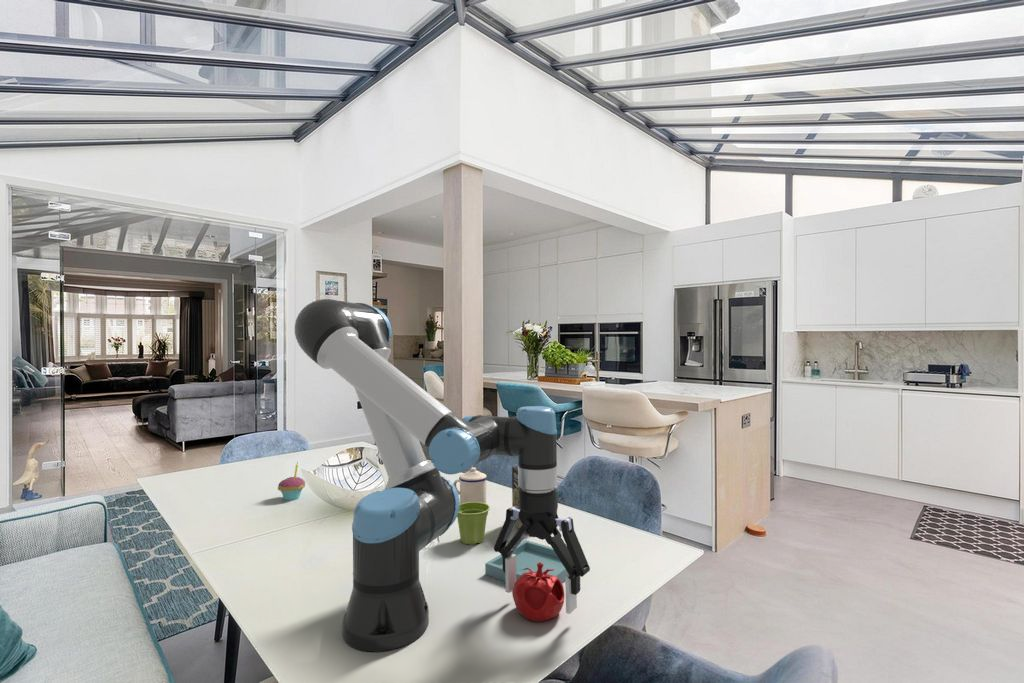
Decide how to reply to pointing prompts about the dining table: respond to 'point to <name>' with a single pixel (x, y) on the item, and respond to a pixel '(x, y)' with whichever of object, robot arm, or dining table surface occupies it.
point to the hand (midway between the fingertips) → (540, 599)
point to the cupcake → (292, 486)
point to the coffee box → (515, 492)
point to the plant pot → (472, 522)
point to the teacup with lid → (472, 486)
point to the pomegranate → (538, 594)
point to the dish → (528, 561)
